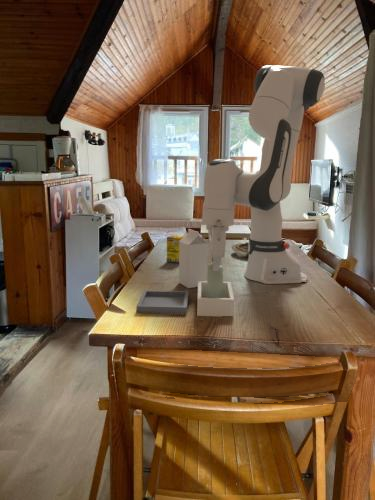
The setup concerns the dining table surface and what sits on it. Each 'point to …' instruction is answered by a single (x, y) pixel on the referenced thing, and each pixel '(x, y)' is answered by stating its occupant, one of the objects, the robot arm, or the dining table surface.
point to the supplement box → (173, 248)
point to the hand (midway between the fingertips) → (215, 265)
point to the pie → (241, 250)
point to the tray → (163, 302)
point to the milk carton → (192, 259)
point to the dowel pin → (215, 282)
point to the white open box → (215, 301)
